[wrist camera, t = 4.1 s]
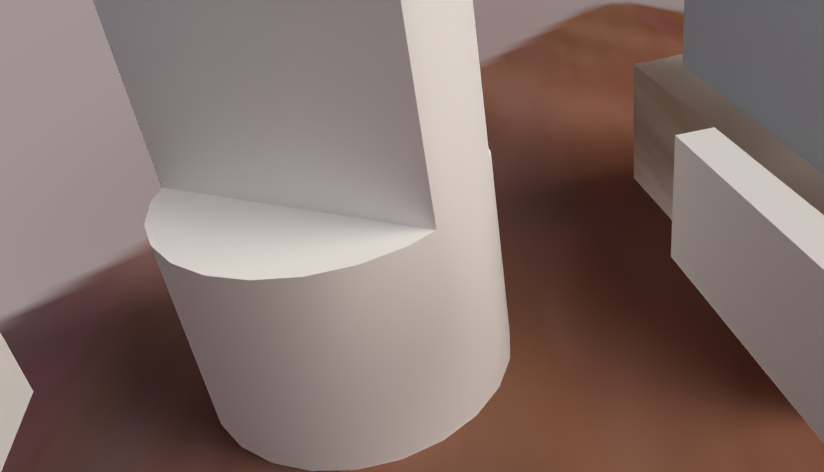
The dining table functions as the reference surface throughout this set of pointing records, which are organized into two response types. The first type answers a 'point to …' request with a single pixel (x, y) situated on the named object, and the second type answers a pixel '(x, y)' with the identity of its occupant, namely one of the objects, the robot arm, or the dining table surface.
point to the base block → (696, 110)
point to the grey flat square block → (764, 63)
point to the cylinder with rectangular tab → (323, 216)
